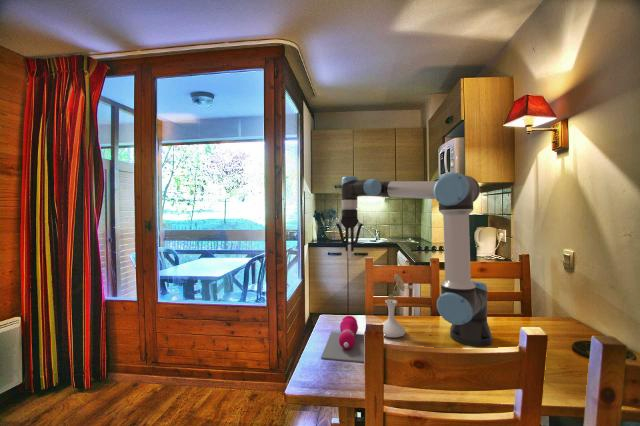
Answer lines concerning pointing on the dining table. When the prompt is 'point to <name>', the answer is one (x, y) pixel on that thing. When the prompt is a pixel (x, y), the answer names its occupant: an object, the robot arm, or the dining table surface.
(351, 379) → the dining table surface
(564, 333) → the dining table surface
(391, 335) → the flower in vase
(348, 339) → the pepper mill
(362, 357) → the mat
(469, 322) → the robot arm
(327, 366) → the dining table surface
